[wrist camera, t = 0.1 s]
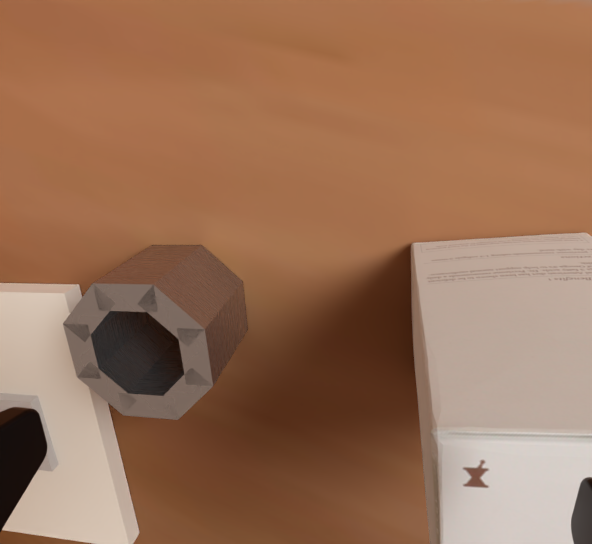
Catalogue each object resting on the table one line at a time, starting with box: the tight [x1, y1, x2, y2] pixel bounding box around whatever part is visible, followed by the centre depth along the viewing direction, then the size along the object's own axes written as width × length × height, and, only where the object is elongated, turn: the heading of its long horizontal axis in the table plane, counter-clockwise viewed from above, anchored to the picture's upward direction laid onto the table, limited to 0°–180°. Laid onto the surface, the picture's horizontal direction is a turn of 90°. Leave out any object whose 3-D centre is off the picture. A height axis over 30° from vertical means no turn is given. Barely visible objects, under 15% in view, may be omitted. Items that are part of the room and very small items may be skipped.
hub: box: [63, 245, 248, 420], centre depth 22 cm, size 6×6×5 cm
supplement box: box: [411, 233, 592, 544], centre depth 15 cm, size 7×7×13 cm
